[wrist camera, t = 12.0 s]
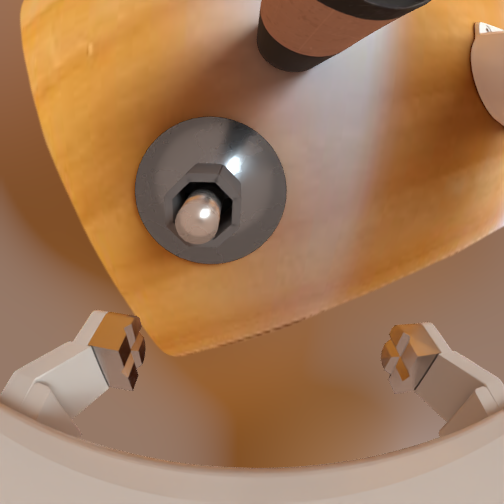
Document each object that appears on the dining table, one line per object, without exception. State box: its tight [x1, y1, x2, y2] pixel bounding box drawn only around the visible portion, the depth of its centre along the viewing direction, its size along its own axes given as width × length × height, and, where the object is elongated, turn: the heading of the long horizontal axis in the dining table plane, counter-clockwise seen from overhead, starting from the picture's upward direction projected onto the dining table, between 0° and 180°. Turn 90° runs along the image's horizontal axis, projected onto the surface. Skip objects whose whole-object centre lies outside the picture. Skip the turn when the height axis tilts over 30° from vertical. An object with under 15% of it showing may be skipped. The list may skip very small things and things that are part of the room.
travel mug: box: [257, 0, 431, 72], centre depth 14 cm, size 8×8×20 cm
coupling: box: [164, 163, 241, 247], centre depth 26 cm, size 6×6×6 cm
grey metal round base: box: [135, 117, 286, 264], centre depth 25 cm, size 16×16×10 cm
